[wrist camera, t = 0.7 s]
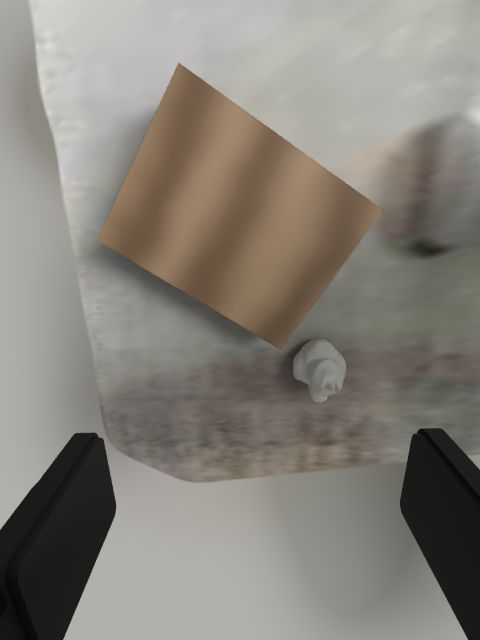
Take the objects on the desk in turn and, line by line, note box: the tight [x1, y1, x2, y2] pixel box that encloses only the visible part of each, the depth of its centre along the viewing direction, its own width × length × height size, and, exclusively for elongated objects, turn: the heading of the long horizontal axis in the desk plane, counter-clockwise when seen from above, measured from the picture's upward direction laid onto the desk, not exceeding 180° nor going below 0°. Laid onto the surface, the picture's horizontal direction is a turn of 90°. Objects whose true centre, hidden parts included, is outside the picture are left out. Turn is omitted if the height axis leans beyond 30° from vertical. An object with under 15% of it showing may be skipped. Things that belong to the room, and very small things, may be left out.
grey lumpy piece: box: [293, 339, 346, 403], centre depth 32 cm, size 5×7×8 cm
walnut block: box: [97, 63, 382, 349], centre depth 28 cm, size 18×14×6 cm
